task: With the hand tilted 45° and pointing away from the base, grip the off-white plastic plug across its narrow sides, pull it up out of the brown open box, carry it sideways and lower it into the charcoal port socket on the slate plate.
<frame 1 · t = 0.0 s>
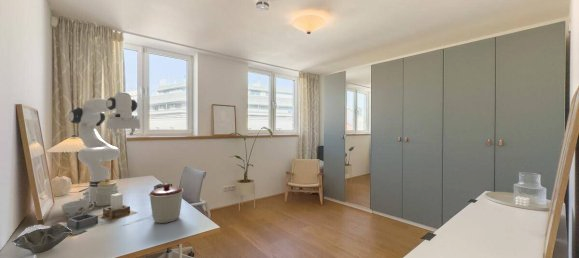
hand: (124, 135, 164), 48 cm above the table, tool pointing down, fingers open, 8 cm apart
jar: (107, 203, 168), on the table
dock: (82, 226, 129), on the table
canister: (166, 220, 138), on the table
coffee box: (163, 209, 156), on the table
plug: (116, 214, 145), point 1 cm above the table, touching brown open box
brown open box: (116, 215, 145), on the table
teacup: (78, 216, 145), on the table
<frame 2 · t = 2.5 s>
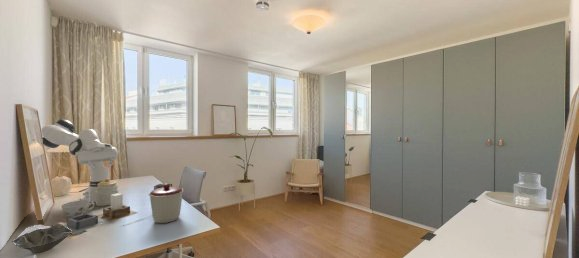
hand: (102, 166, 149), 29 cm above the table, tool tilted 45°, fingers open, 8 cm apart
nothing on the table moved.
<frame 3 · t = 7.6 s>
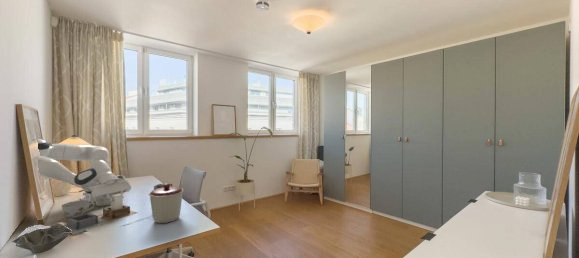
hand: (117, 199, 144), 10 cm above the table, tool tilted 45°, fingers closed on plug, 4 cm apart
plug: (116, 214, 145), point 1 cm above the table, touching gripper, brown open box
everything else where it was.
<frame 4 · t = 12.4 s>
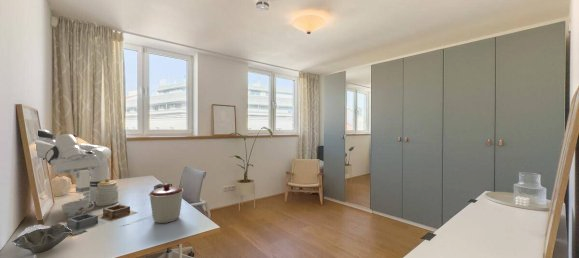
hand: (83, 176, 129), 27 cm above the table, tool tilted 45°, fingers closed on plug, 4 cm apart
plug: (82, 192, 129), point 18 cm above the table, touching gripper
everything else where it was.
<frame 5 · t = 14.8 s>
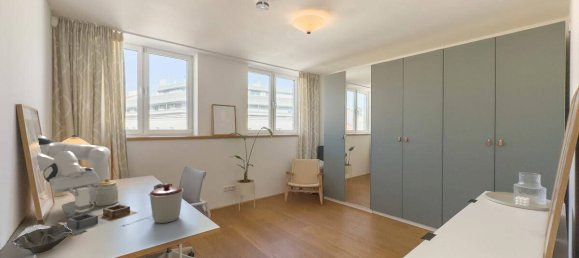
hand: (82, 194, 129), 18 cm above the table, tool tilted 45°, fingers closed on plug, 4 cm apart
plug: (82, 210, 129), point 9 cm above the table, touching gripper
everything else where it was.
when the fingers open (11 cm above the table, at t = 17.2 s): plug drops 1 cm, resting on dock.
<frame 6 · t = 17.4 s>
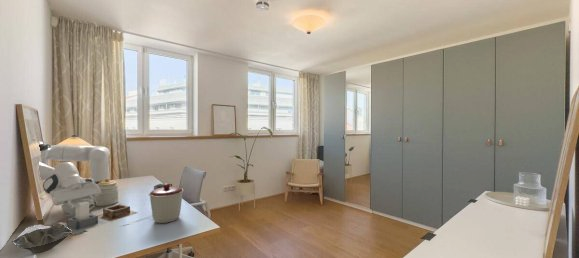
hand: (83, 205, 129), 11 cm above the table, tool tilted 45°, fingers open, 6 cm apart
plug: (82, 224, 129), point 1 cm above the table, touching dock
everything else where it was.
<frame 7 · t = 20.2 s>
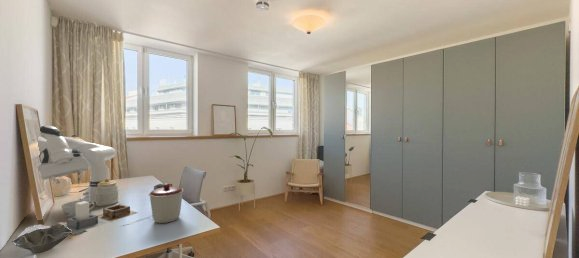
hand: (69, 180, 132), 24 cm above the table, tool tilted 40°, fingers open, 8 cm apart
nothing on the table moved.
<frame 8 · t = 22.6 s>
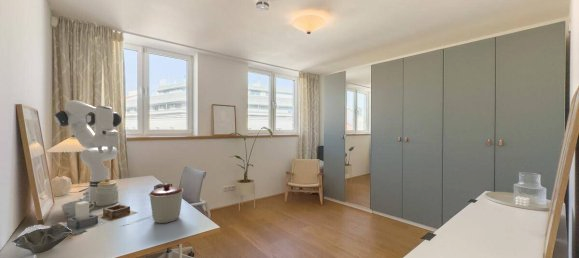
hand: (105, 153, 149), 37 cm above the table, tool pointing down, fingers open, 8 cm apart
nothing on the table moved.
at the end: plug 0.0 cm off-centre on the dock, point 1.0 cm above the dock's base; plug tilted 0°; the gripper is holding nothing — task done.
